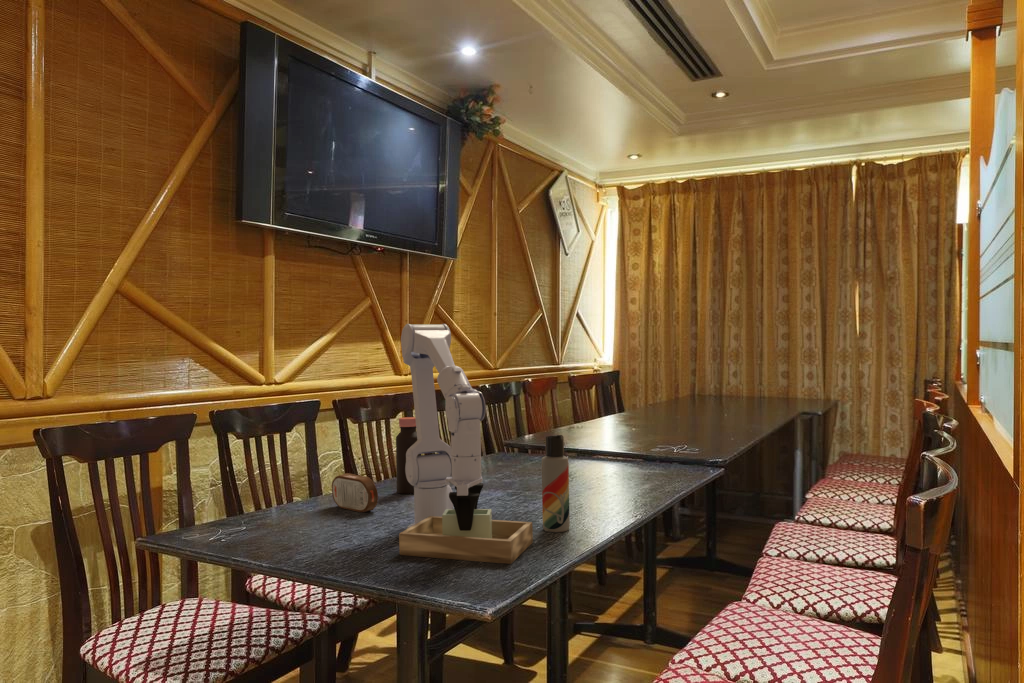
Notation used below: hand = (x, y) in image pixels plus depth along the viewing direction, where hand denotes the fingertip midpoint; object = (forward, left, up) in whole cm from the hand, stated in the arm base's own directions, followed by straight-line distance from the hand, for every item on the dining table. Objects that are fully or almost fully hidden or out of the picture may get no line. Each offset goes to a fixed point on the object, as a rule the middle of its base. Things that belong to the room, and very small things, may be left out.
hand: (467, 525), depth 134 cm
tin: (-24, -39, -5) cm, 46 cm away
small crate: (0, 0, -3) cm, 3 cm away
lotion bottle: (-18, +13, -5) cm, 23 cm away
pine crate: (0, 0, -4) cm, 4 cm away
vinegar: (-46, -35, -5) cm, 58 cm away
